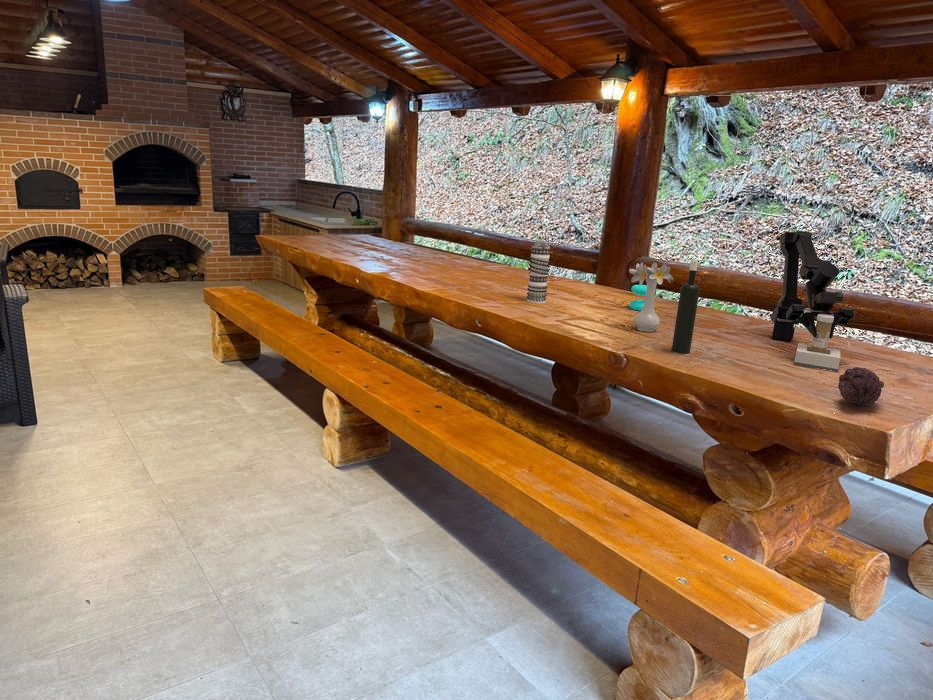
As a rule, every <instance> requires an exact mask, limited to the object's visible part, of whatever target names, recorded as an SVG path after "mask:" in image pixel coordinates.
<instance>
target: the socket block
mask: <svg viewBox="0 0 933 700" xmlns="http://www.w3.org/2000/svg"><path fill="white" fill-rule="evenodd" d="M811 346H812V344H806V343H805V344H804V343H798V344H797V349H796V352H795V357H794V361H793V362H794V363H793V366H797V365H798V367H803V366H804V367H805V368H809V367H811V368H810V369H815V368H819V369H818V370H821V369H826V370H825V371H827V370H832V371H831V372H833V371H837V372H839V371H838V370H839V366H840V362H841V350H840V349H836V348H831V347H829V348H828V347H827V349H826V353H825V354H824V353H817V352H811ZM804 367H803V368H804Z"/></svg>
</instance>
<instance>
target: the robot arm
mask: <svg viewBox="0 0 933 700" xmlns="http://www.w3.org/2000/svg"><path fill="white" fill-rule="evenodd" d="M812 238H813V235H812V232H810V231H805V230H804V231H803V230H796V231H784V232H783V233H781V234H780V236H779V240H778V242H779V247H780V251H781V253H782V255H783V256H784V264H783V265H784V266H783V278H782V279H783V280H782V281H783V282H782V292H781V293H782V295H781V297H780V298H779V300H778V301H777V302H776V306H775V308H774V309H773V311H772V312H771V314H770V321H771V322H772V323H773V324H774V325H773V329H772V334H771V337H770V339H771V340H775V341H776V340H777V341H784V342H791V341H792V340H794V335H795V330H796V327H795V326H794V325H799V324H800V325H803V327H804V328H805V329H806V330H807V331H808V332H809V334H810V335H811V336H812V338H813V337H816V336H817V334H816V324H815V318H817V316H818V314H828V315H832V316H834V320H833V322H832V326H831V331H830V336H829V340H831V339H832V338H833V336H834V332H835V328H836V326H838V325H842V326H846V325H848V324H849V323H850V322H852V320H854V318H855V317H856V312H855V310H854V309H852V308H844V307H840V308H839V309H838V310H837V311H831V310H833V308H834V305H837V304H839V303H842V302H843V301H844V294H843V291H834V292H832V291H827V288H829V287H830V286H831V285H832V284H833V282H834V281H835V280H836V278H837V277H838V276H839V274H840V269H839V268H838V267H837V266H836V265H835V264H833V263H832V262H831V260H824V259H822V258H820V257H818V255H817V251H816V248H815V245H814V242H813V241H812V240H813V239H812ZM800 262H801V266H800ZM799 277H800V278H801V280H803V281H807V282H806V283H805V287H804V289H803V292H805V293H806V299H807V301H806V302H805V304H806V305H805V304H803V300H802V299H801V298H799V296H798V283H799ZM806 306H808V307H806Z"/></svg>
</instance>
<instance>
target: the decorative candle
mask: <svg viewBox="0 0 933 700" xmlns="http://www.w3.org/2000/svg"><path fill="white" fill-rule="evenodd" d="M550 250H551V246H550V245H549V244H548V243H546V242H535V243H534V244H533V245H532V246H531V254H530V255H529V256H528V258H529V259H528V262H529V264H528V270H529V272H528V275H529V279H528V284H527V287H528V288H527V293H526V302H527V303H531V304H538V305H539V304H545V303H547V296H548V295H547V292H548V290H547V289H548V287H549V286H548V282H547V281H548V277H549V276H550V273H549V272H550V269H549V268H550V267H551V261H550V260H549V259H550Z"/></svg>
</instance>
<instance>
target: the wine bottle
mask: <svg viewBox="0 0 933 700" xmlns="http://www.w3.org/2000/svg"><path fill="white" fill-rule="evenodd" d="M698 262H699V259H696V258H691V259H690V264H689V273H688V279H687V283H684V284H682V285H681V287H680V289H679V297H678V303H677V311H676V317H675V322H674V323H675V324H674V330H673V337H672V344H671V352H674V353H677V354H683V355H685V354H690V353H691V348H692V347H691V346H692V342H693V336H694V330H695V321H696V316H697V310H698V304H699V296H700V290H701V289H700V287H699V286H698V285H697V284H696V283H695V282H696V274H697V270H698Z"/></svg>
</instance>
